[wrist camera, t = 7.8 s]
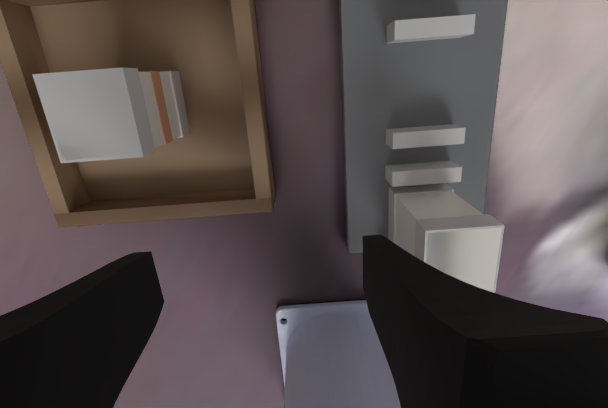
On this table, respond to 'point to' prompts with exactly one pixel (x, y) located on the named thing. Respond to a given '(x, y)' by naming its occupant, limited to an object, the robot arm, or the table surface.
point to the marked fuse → (112, 112)
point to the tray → (145, 57)
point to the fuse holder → (416, 101)
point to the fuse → (446, 232)
